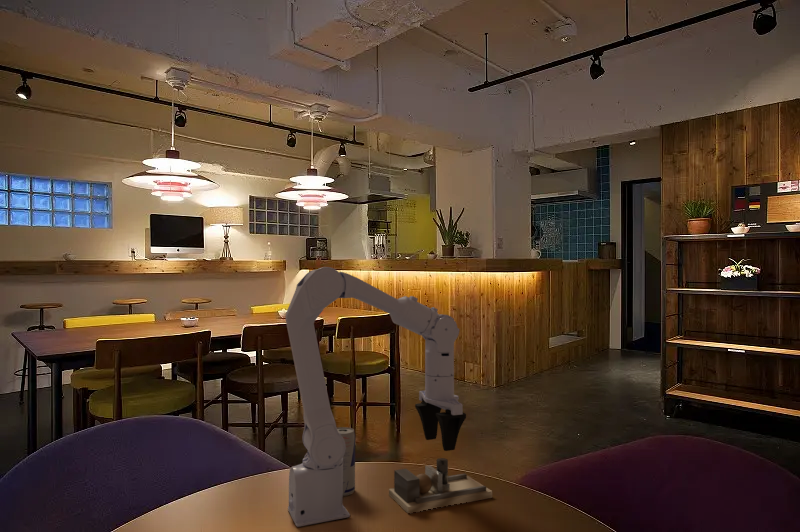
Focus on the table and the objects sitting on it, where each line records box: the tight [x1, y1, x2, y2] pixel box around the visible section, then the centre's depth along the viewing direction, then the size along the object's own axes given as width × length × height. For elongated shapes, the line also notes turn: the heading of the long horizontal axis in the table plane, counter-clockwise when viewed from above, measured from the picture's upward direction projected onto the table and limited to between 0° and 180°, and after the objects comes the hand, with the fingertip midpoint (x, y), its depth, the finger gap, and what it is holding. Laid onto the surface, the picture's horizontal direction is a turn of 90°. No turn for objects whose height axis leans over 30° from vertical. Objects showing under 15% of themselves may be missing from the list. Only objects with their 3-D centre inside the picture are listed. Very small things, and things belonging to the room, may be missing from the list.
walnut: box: [415, 473, 432, 494], centre depth 94 cm, size 4×4×4 cm
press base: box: [388, 468, 493, 514], centre depth 96 cm, size 18×9×5 cm, turn 114°
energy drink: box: [337, 426, 356, 497], centre depth 98 cm, size 5×5×12 cm
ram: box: [424, 457, 450, 494], centre depth 96 cm, size 4×5×5 cm
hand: (439, 444), depth 97 cm, fingers open, 7 cm apart
